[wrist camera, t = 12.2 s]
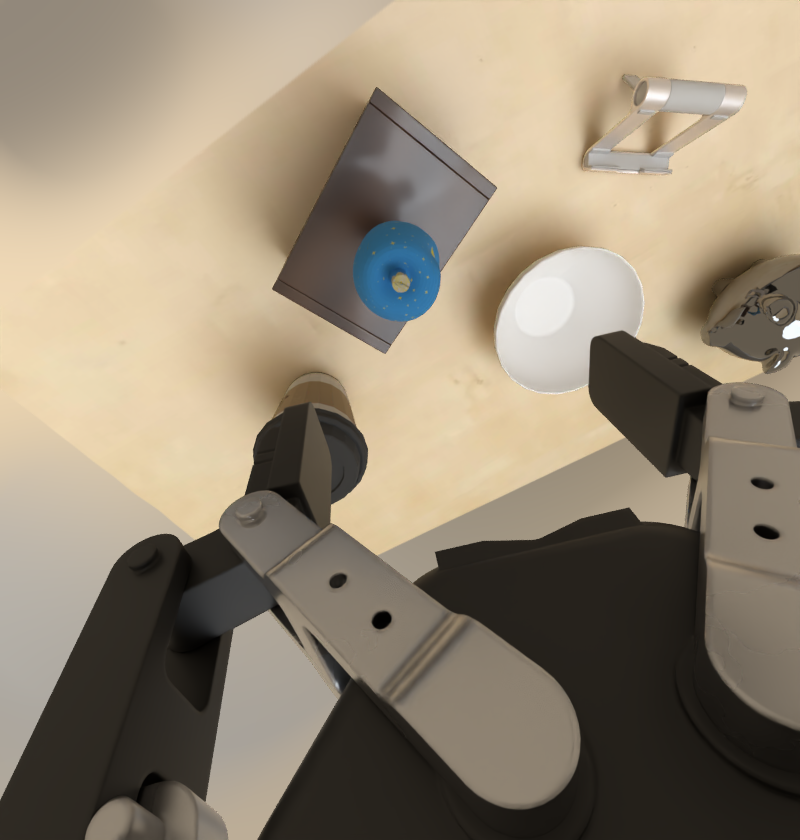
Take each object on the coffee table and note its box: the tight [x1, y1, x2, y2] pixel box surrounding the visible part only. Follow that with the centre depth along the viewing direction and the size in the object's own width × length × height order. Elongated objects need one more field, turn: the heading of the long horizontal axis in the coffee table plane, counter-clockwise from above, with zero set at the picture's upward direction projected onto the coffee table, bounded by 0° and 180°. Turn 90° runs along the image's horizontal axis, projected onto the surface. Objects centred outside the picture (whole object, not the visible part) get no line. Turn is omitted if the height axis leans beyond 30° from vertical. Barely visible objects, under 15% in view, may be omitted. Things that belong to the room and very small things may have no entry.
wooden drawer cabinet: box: [272, 87, 497, 354], centre depth 40 cm, size 11×16×12 cm
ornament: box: [353, 221, 441, 322], centre depth 28 cm, size 5×5×15 cm
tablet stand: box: [582, 75, 747, 175], centre depth 40 cm, size 9×8×8 cm
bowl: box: [494, 246, 645, 394], centre depth 49 cm, size 16×16×7 cm
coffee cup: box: [253, 373, 368, 504], centre depth 48 cm, size 11×11×15 cm
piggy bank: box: [701, 254, 800, 374], centre depth 49 cm, size 11×15×12 cm
